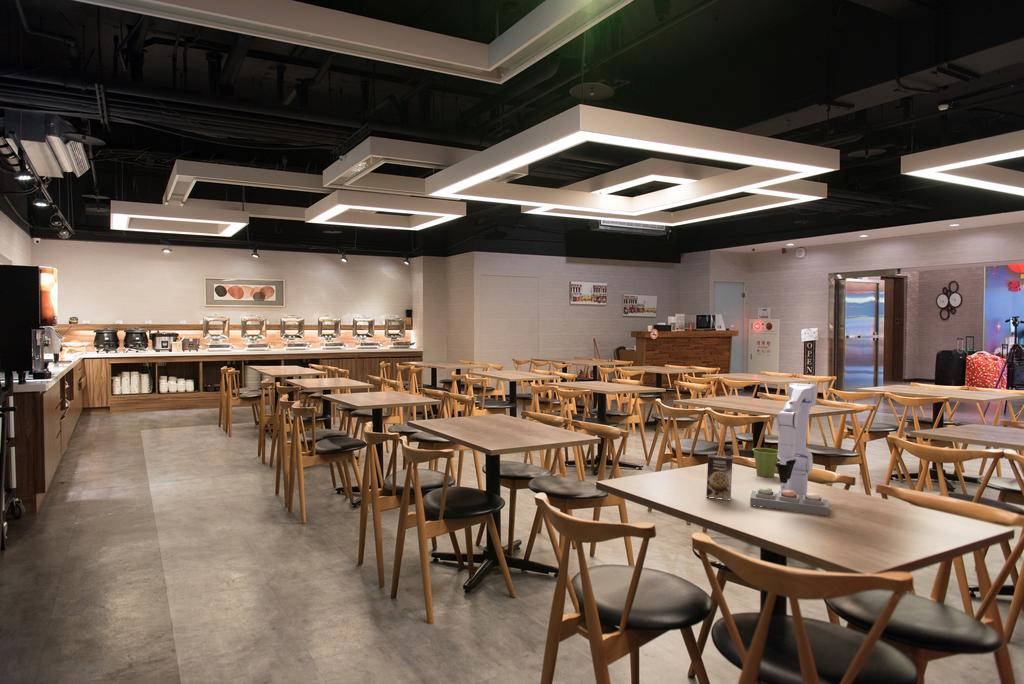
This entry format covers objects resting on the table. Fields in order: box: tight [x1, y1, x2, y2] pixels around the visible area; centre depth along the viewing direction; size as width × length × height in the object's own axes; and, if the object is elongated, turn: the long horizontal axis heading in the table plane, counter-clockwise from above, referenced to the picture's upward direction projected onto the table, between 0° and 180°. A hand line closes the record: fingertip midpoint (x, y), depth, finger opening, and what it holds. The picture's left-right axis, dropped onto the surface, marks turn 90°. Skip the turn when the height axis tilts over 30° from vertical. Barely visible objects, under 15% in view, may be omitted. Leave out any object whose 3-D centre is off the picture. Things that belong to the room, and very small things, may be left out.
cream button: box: [806, 492, 821, 500], centre depth 231 cm, size 4×4×2 cm
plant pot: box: [751, 447, 779, 478], centre depth 282 cm, size 12×12×11 cm
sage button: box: [758, 486, 773, 494], centre depth 238 cm, size 4×4×2 cm
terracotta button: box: [783, 490, 796, 497], centre depth 234 cm, size 4×4×2 cm
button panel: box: [749, 489, 830, 517], centre depth 234 cm, size 26×11×4 cm, turn 66°
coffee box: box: [705, 453, 733, 500], centre depth 245 cm, size 9×6×16 cm
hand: (785, 480), depth 235 cm, fingers open, 7 cm apart
